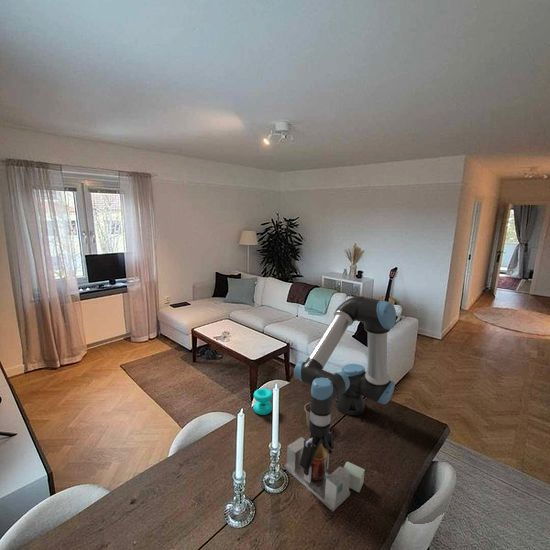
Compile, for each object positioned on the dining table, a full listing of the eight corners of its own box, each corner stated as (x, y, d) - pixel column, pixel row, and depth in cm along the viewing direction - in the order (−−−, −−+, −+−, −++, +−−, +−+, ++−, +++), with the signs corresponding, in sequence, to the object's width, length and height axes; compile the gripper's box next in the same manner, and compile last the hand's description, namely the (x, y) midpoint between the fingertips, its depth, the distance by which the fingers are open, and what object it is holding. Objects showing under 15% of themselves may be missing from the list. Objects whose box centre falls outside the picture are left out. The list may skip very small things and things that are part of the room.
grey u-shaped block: (301, 455, 128) (302, 435, 127) (350, 495, 110) (352, 473, 109) (284, 467, 122) (284, 446, 120) (333, 512, 104) (335, 488, 102)
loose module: (345, 474, 120) (346, 461, 118) (363, 483, 116) (364, 469, 115) (340, 483, 115) (342, 469, 114) (359, 492, 112) (360, 478, 111)
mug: (305, 463, 122) (306, 440, 120) (327, 466, 120) (329, 444, 119) (302, 488, 111) (303, 464, 109) (326, 493, 109) (328, 468, 107)
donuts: (269, 399, 150) (250, 395, 153) (268, 418, 152) (250, 413, 155) (275, 389, 159) (257, 385, 162) (275, 406, 161) (257, 402, 164)
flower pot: (322, 432, 143) (324, 415, 141) (302, 429, 144) (303, 412, 143) (323, 419, 152) (324, 403, 151) (304, 416, 154) (305, 401, 152)
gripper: (330, 404, 121) (327, 453, 125) (291, 427, 107) (288, 482, 111) (346, 413, 116) (342, 464, 120) (306, 439, 101) (303, 497, 105)
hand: (316, 473), depth 115 cm, fingers closed on mug, 9 cm apart
